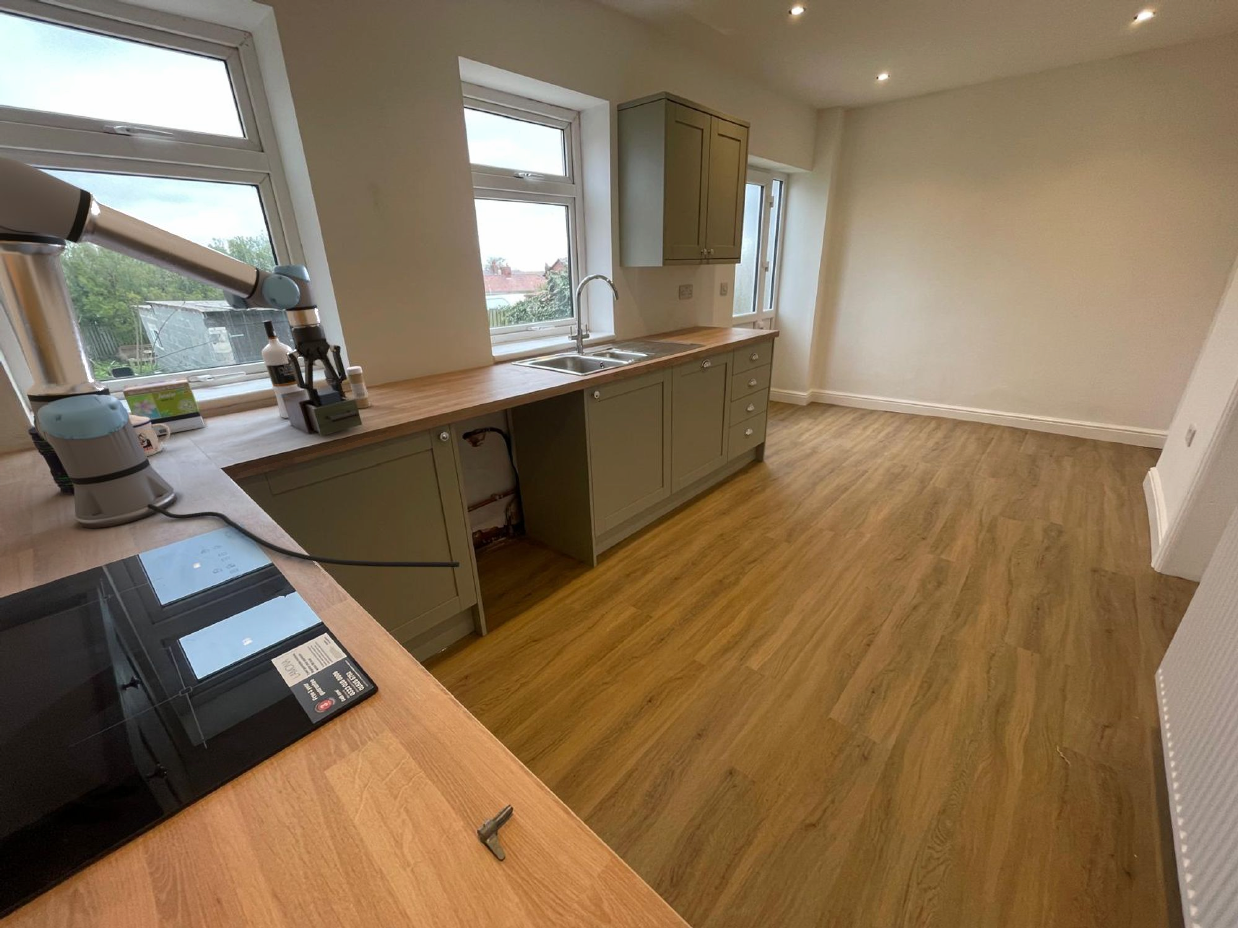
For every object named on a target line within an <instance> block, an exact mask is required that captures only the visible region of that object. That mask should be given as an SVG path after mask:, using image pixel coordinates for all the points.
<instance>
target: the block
mask: <svg viewBox="0 0 1238 928" xmlns="http://www.w3.org/2000/svg"><path fill="white" fill-rule="evenodd" d="M318 396H319V399H320V402H321V406H325V405H329V404H333V403H337V402H341V399H340V396H339V392H338V391H335V390H332V389H330V390H326V391H321V392H318Z"/></svg>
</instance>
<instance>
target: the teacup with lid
mask: <svg viewBox="0 0 1238 928" xmlns="http://www.w3.org/2000/svg"><path fill="white" fill-rule="evenodd" d="M128 414H129V419H130V421H131V423H132V426H133V428H134V430H135V432H136V434H137V437H138V439H139V441H140V443H141V445H142V447H143V450H144V452H145V454H146V456H147V457H150V456H153V455H155V454H159V453H160V452H161V451H162V450H163V447H162V444H161V443H162V442H166V441H167V440H168V439H169V438H170V435H171V433H170V429H169V428H168V426H166V425H164V424H153V425H152V424H151V419H150V418H148V417H140V416H136V415H132V414H131V413H130V412H128ZM153 427H163V428H165V429H166V431H167V434H165V436H164V437H162V438H158V435H156V433H155V431H154V429H153Z"/></svg>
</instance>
